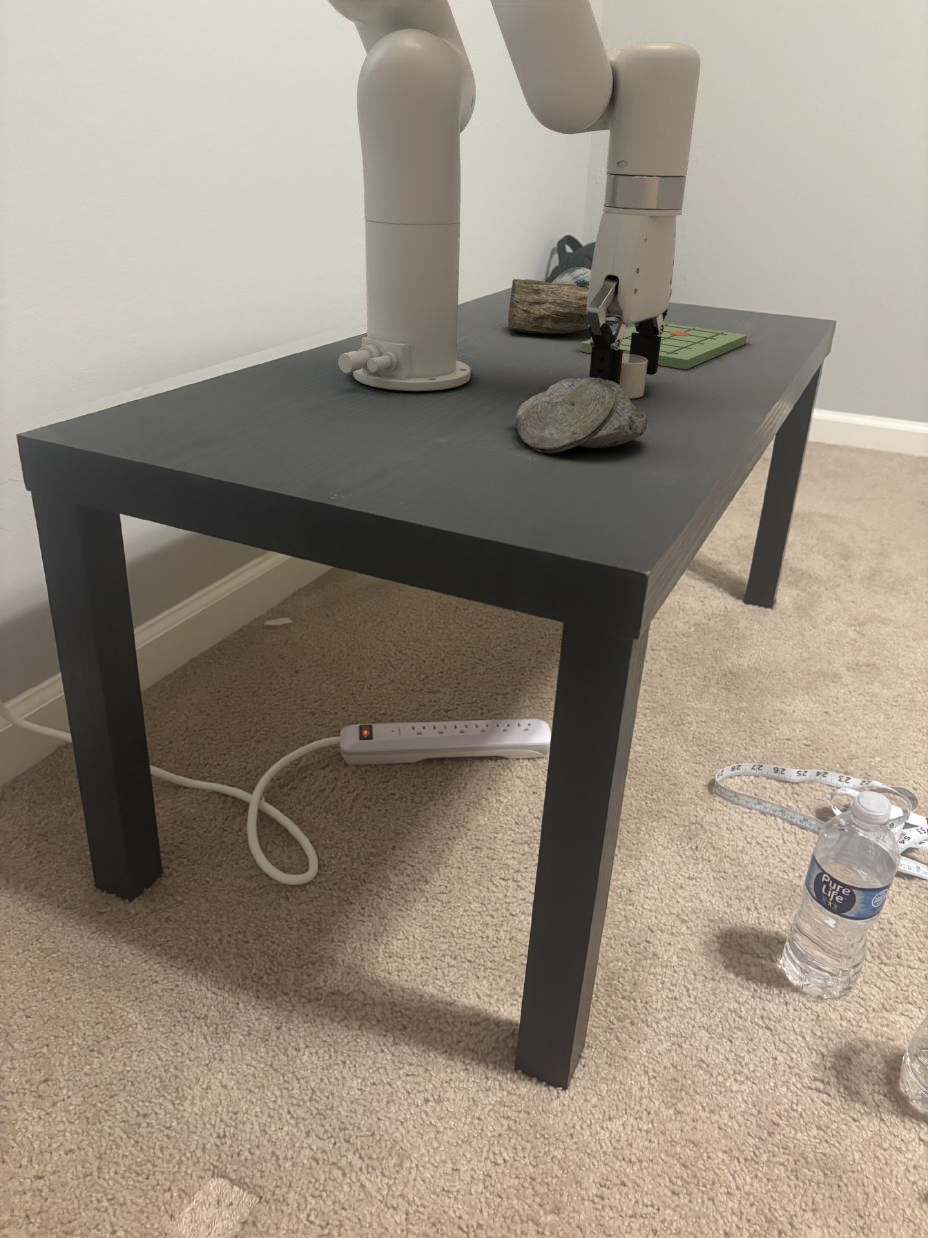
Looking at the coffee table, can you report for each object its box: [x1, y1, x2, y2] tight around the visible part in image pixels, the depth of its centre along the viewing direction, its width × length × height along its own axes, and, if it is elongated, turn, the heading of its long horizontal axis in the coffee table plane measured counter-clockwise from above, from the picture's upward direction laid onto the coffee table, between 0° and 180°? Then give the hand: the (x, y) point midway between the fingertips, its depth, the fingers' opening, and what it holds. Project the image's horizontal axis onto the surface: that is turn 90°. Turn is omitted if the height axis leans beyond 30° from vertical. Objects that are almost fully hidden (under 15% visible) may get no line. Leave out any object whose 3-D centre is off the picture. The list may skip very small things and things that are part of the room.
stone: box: [507, 278, 590, 335], centre depth 122 cm, size 14×10×10 cm
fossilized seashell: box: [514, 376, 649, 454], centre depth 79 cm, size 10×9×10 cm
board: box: [580, 322, 748, 370], centre depth 116 cm, size 20×14×1 cm
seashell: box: [551, 266, 591, 289], centre depth 136 cm, size 6×8×12 cm
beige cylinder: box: [620, 353, 648, 400], centre depth 94 cm, size 5×5×4 cm
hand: (623, 379), depth 94 cm, fingers open, 8 cm apart
